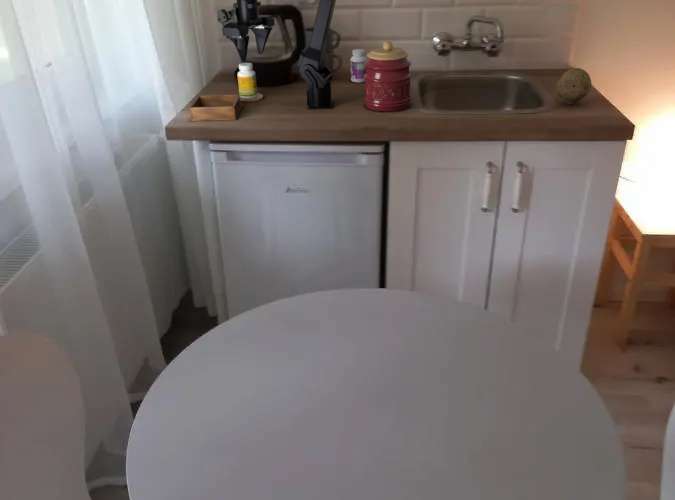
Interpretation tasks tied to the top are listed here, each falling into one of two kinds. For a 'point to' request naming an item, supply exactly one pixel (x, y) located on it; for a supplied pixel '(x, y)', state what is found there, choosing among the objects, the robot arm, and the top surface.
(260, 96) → the coaster
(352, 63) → the pill bottle
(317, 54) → the robot arm
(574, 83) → the natural sponge
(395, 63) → the kitchen canister
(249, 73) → the supplement bottle
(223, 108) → the wooden tray
